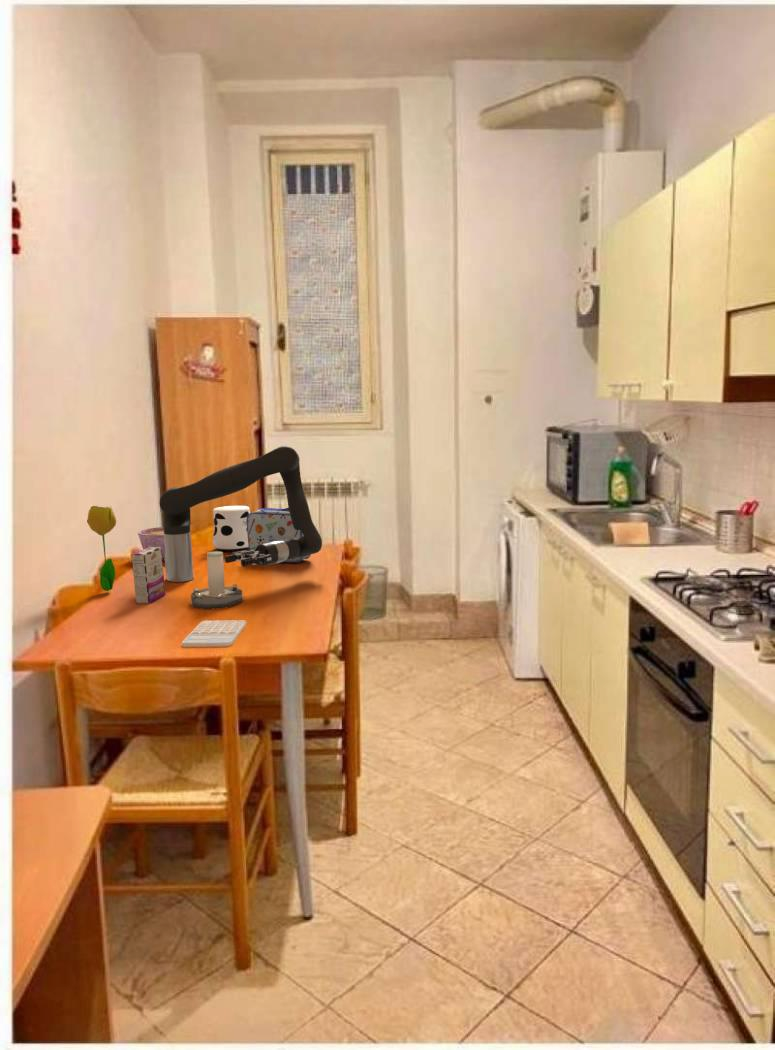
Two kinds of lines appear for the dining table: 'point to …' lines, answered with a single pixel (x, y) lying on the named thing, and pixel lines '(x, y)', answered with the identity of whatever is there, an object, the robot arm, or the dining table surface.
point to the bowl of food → (153, 538)
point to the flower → (103, 523)
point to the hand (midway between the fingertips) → (233, 561)
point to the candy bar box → (148, 575)
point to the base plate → (216, 598)
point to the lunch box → (271, 528)
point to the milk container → (230, 528)
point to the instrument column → (215, 572)
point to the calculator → (214, 633)
